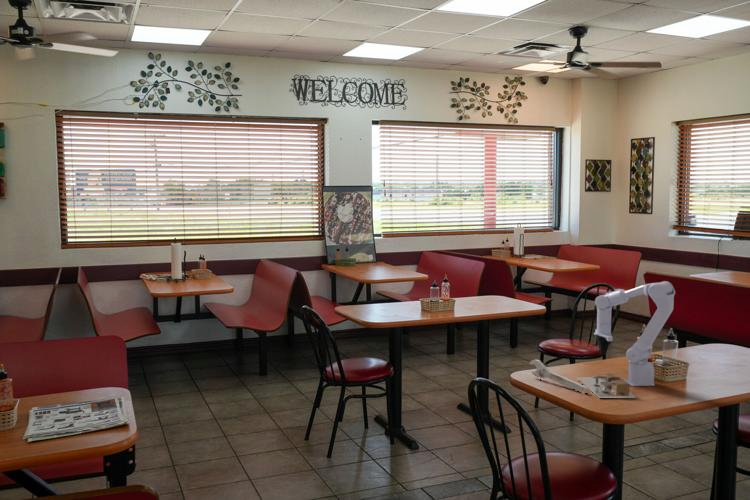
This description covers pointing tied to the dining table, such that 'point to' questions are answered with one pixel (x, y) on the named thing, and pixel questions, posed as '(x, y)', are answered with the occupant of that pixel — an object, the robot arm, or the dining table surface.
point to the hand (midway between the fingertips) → (603, 354)
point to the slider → (607, 378)
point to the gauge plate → (607, 388)
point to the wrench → (556, 376)
